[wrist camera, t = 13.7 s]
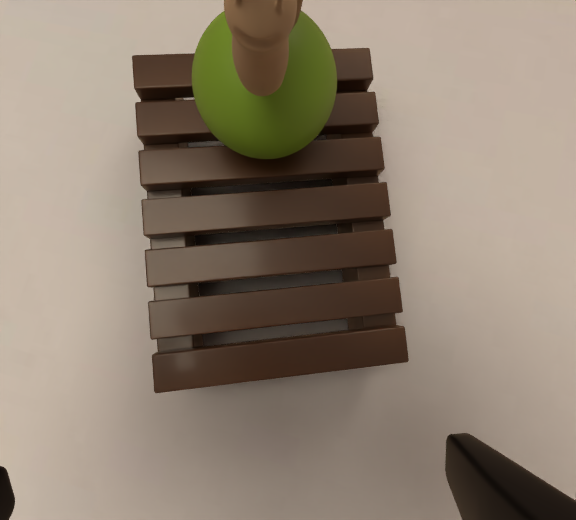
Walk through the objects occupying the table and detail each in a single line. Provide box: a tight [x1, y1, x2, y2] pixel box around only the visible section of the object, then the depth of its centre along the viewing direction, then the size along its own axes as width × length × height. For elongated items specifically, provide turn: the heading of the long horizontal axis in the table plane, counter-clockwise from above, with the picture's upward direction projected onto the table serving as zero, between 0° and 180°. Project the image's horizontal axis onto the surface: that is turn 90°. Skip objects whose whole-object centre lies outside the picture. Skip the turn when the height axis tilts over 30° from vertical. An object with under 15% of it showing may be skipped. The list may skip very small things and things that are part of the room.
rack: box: [132, 48, 409, 393], centre depth 19 cm, size 15×11×4 cm
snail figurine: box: [192, 0, 337, 159], centre depth 11 cm, size 5×6×12 cm
